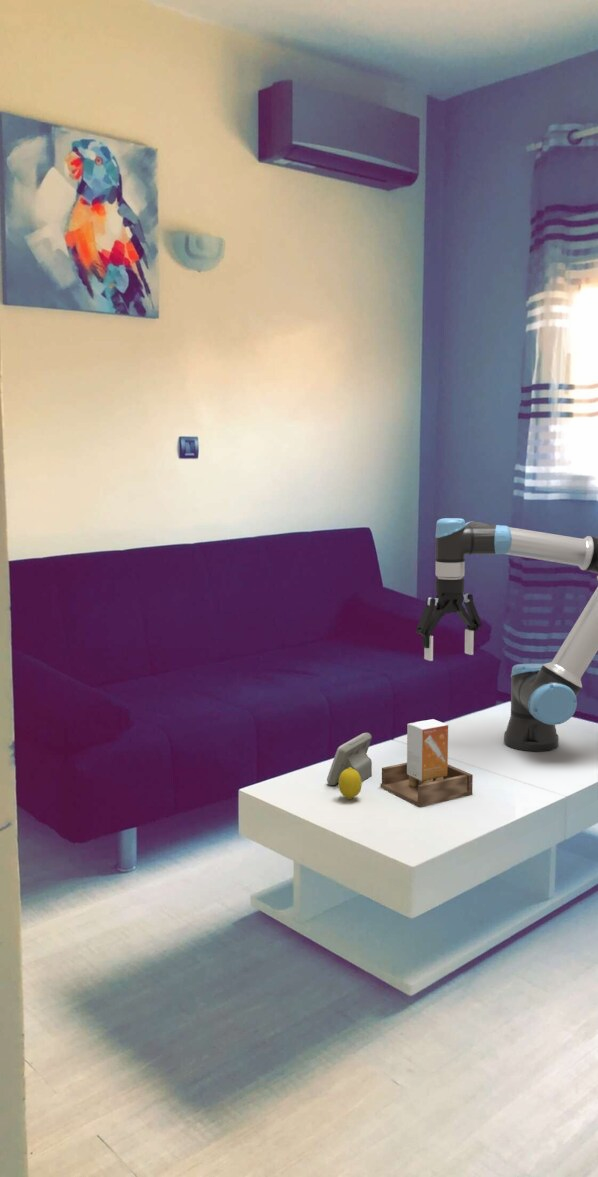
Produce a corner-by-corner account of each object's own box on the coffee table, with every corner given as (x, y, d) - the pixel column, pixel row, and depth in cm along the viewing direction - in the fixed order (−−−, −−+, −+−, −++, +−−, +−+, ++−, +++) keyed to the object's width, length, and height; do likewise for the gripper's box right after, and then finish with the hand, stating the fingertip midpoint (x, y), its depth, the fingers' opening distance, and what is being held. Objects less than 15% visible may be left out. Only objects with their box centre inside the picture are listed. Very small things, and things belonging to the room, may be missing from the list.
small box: (422, 781, 233) (422, 729, 231) (406, 774, 238) (406, 723, 237) (448, 775, 237) (448, 724, 235) (432, 768, 242) (432, 718, 241)
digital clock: (357, 767, 257) (356, 728, 255) (384, 774, 251) (384, 735, 249) (316, 783, 245) (316, 742, 243) (344, 791, 239) (343, 749, 237)
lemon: (364, 796, 235) (364, 765, 234) (358, 804, 230) (357, 772, 228) (342, 794, 236) (342, 762, 235) (335, 802, 231) (335, 770, 230)
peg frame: (431, 776, 249) (431, 757, 248) (472, 794, 235) (472, 774, 235) (380, 787, 241) (380, 768, 240) (419, 807, 227) (419, 786, 227)
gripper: (477, 572, 263) (476, 649, 266) (402, 579, 250) (402, 659, 253) (495, 575, 256) (494, 653, 259) (420, 582, 244) (419, 665, 247)
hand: (449, 657), depth 256 cm, fingers open, 13 cm apart
